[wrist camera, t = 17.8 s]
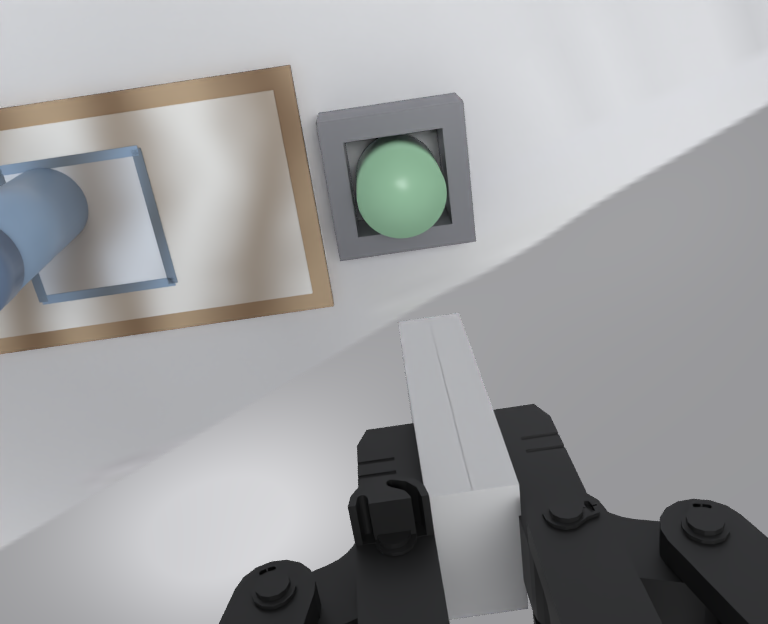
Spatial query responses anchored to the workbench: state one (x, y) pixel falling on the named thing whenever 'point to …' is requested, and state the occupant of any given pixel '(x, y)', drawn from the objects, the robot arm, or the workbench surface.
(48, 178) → the blue cylinder
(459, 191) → the button housing
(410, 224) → the button
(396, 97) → the workbench surface
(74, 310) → the picture frame
